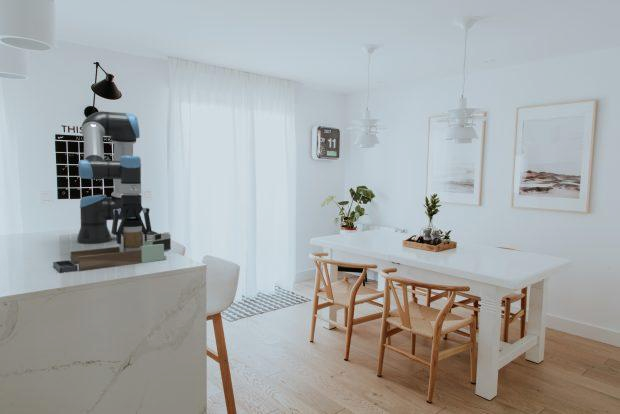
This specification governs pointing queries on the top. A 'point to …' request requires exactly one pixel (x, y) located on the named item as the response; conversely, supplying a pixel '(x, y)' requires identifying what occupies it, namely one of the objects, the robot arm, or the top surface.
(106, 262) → the channel
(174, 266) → the top surface
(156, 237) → the camera
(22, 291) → the top surface
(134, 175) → the robot arm
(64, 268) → the tray
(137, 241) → the coffee cup
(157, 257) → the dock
